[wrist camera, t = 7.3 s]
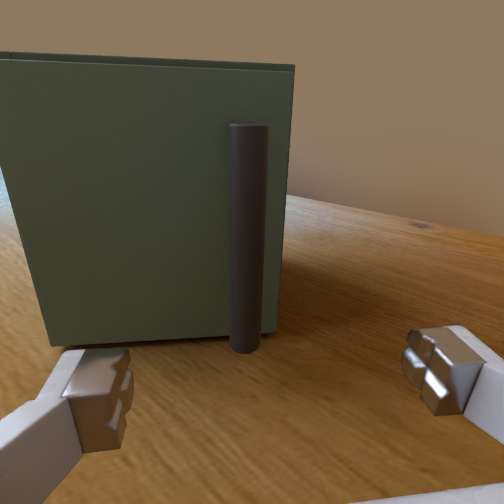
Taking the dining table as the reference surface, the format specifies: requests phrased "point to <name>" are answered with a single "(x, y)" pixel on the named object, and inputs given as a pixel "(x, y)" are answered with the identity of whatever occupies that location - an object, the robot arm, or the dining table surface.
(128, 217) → the door
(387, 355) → the dining table surface
